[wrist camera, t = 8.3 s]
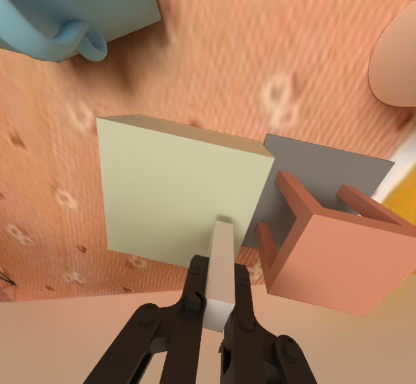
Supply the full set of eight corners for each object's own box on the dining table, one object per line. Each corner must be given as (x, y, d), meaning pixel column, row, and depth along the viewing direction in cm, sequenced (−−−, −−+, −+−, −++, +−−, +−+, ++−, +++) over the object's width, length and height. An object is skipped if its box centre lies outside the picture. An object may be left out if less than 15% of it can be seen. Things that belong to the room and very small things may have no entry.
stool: (267, 293, 16) (363, 316, 16) (313, 214, 12) (443, 244, 12) (254, 229, 24) (317, 243, 24) (278, 169, 20) (353, 187, 20)
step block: (137, 214, 26) (107, 249, 20) (139, 114, 20) (96, 117, 13) (228, 235, 26) (228, 278, 19) (260, 141, 20) (274, 158, 13)
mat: (230, 241, 26) (230, 242, 26) (267, 133, 19) (267, 133, 19) (321, 262, 26) (322, 264, 26) (392, 161, 19) (395, 162, 19)
